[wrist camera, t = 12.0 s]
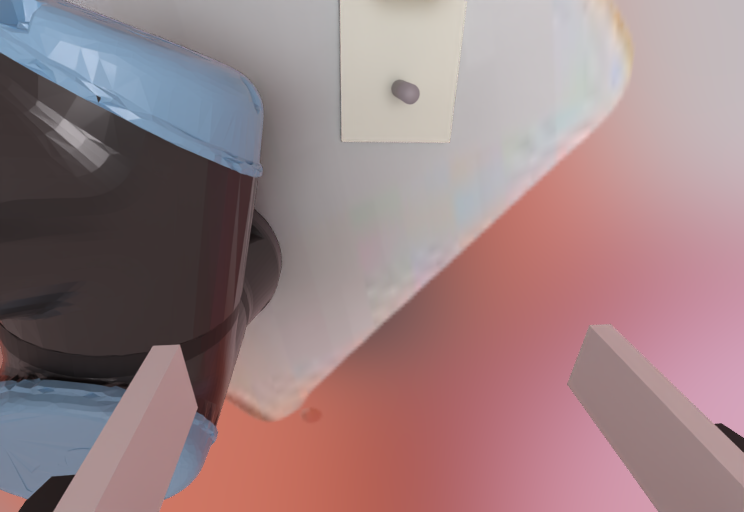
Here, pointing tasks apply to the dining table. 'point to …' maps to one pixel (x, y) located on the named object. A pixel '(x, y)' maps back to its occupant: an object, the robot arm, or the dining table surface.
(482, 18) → the dining table surface
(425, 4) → the pin board
